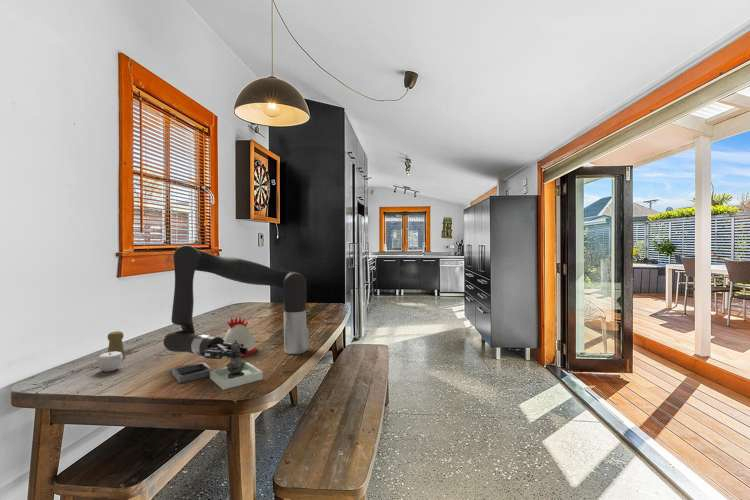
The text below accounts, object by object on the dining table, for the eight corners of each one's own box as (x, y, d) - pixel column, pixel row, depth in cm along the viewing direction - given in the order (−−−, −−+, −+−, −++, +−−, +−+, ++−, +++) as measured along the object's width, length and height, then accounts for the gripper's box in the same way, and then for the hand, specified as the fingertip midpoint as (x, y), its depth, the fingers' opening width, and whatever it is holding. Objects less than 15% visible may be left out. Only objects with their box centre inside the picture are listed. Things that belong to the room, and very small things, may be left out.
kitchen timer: (220, 349, 155) (219, 315, 155) (253, 345, 161) (253, 312, 160) (221, 359, 142) (220, 321, 142) (257, 354, 148) (257, 318, 148)
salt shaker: (243, 377, 119) (242, 341, 118) (224, 378, 118) (223, 342, 117) (246, 371, 124) (246, 337, 124) (229, 372, 124) (228, 337, 123)
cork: (128, 357, 145) (128, 330, 144) (112, 362, 139) (111, 334, 139) (119, 356, 147) (118, 329, 147) (103, 360, 142) (102, 332, 142)
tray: (247, 369, 130) (247, 362, 130) (262, 379, 120) (262, 371, 120) (209, 378, 122) (209, 370, 122) (222, 389, 112) (222, 381, 112)
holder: (204, 367, 132) (204, 362, 132) (213, 375, 125) (213, 369, 124) (172, 374, 125) (172, 368, 125) (179, 383, 118) (179, 377, 118)
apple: (121, 364, 136) (121, 347, 136) (125, 370, 131) (125, 352, 131) (95, 370, 131) (94, 352, 131) (98, 375, 125) (97, 357, 125)
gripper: (189, 340, 121) (223, 347, 113) (224, 331, 134) (257, 337, 126) (189, 362, 122) (223, 371, 113) (225, 351, 134) (258, 358, 126)
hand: (241, 353), depth 120 cm, fingers open, 3 cm apart
